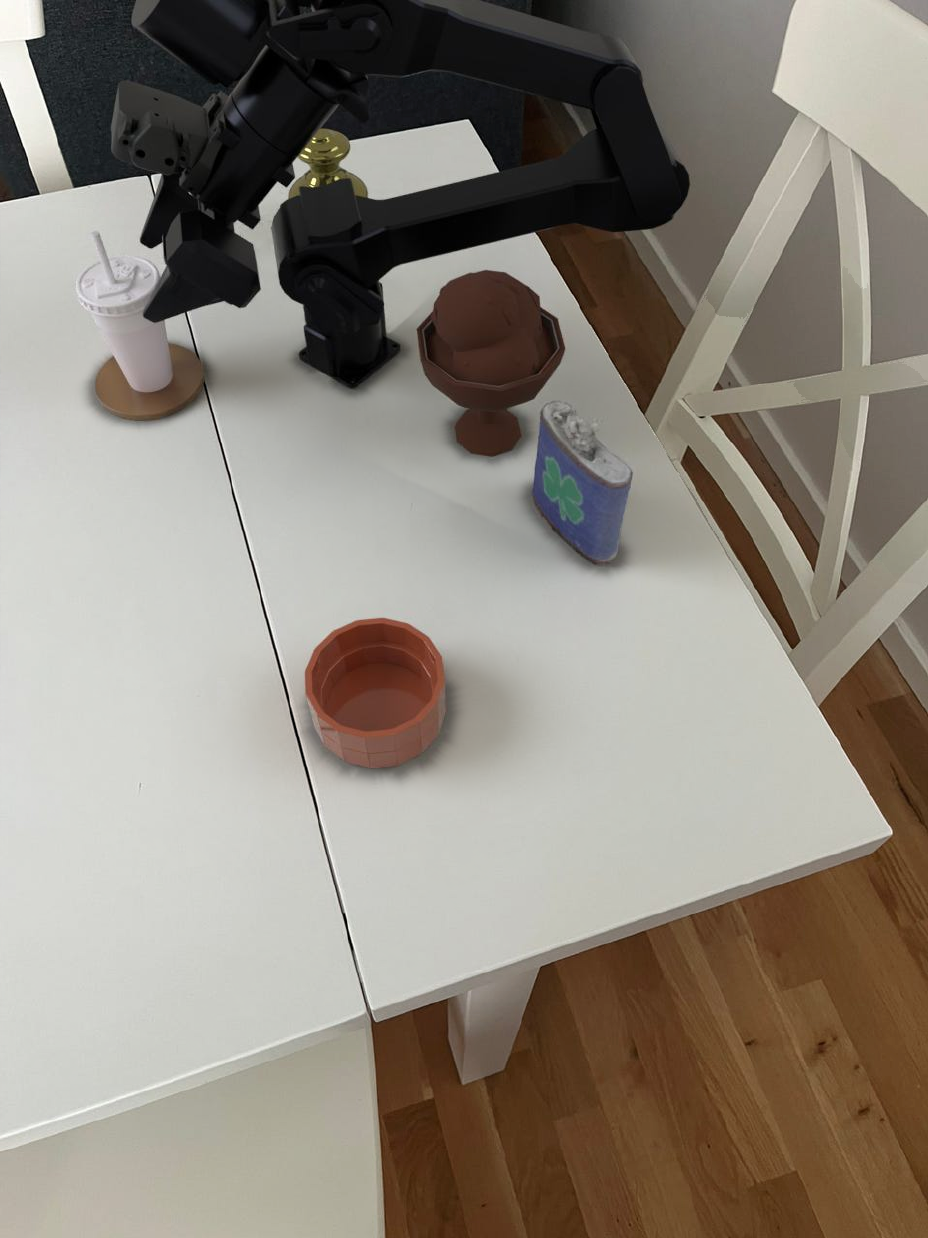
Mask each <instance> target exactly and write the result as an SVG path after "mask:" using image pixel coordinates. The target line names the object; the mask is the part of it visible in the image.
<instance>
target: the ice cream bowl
mask: <svg viewBox="0 0 928 1238" xmlns="http://www.w3.org/2000/svg"><path fill="white" fill-rule="evenodd" d="M432 306H433V307H432V311H431V312H430V313H429V314H428V315H427V316H426V317H425V319H424V320H423V321H422V322H421V323H420V324H419V325H418V327H417V328H416V335H417V336H416V337H417V344H418V351H419V359H420V363H421V367H422V369H423V370H422V371H423V373H424V376H425V377H426V379H427V380H428V382H429V383H430V384H431V385H432V387H434V388H435V389H437V390H438V391H439V392H440V393H442V395H444V396H446V397H447V398H448V399H450V400H451V401H452V402H454V404H456V405H457V406H459V407H462V408H464V409H466V410H465V411H464V412H463V413H462V415H461V416H460V417H459V418H458V419H457V421H456V422H455V425H454V433H455V439H456V443H457V444H458V445H460V446H461V447H462V448H463V449H465V450H466V451H467V452H469V453H470V454H473V455H478V456H479V455H480V456H486V457H496V456H498V455H502V454H504V453H508V452H510V451H512V450H513V449H514V448H515V446H516V445H517V444H518V443H519V441H520V440H521V438H523V437H522V430H521V426H520V421H519V418H518V417H517V416H516V415H515V414H514V413H512V412H511V411H509V410H508V409H511V408H513V407H517V406H519V405H523V404H525V403H528V402H530V401H533V400H535V399H536V397H537V396H538V395H539V394H540V392H541V391H542V389H543V388H544V387H545V385H546V384H547V382H548V381H549V380H550V379H551V377H552V376H553V375H554V373H555V372H556V371H557V369H558V368H559V367H560V365H561V363H562V360H563V358H564V354H565V352H566V345H565V341H564V337H563V334H562V329H561V325H560V323H559V317H557V316H555V315H554V314H552V313H550V312H549V311H548V310H546V309H545V308H543V307H542V306H541V297H540V295H539V294H538V293H537V292H536V291H534V290H533V289H532V288H531V287H529V286H528V285H527V284H525V283H523V282H522V281H520V280H519V279H517V278H515V277H514V276H512V275H511V274H509V273H507V272H505V271H498V270H490V269H483V270H480V271H476V272H471V271H470V272H468V273H465V274H463V275H460V276H458V277H455V278H453V279H450V280H449V281H448V282H447V283H446V284H445V285H444V286H442V287H441V288H440V290H439V293H438V296H437V298H436V299H435V301H434V302H433V305H432Z"/></svg>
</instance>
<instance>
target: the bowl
mask: <svg viewBox="0 0 928 1238" xmlns="http://www.w3.org/2000/svg"><path fill="white" fill-rule="evenodd" d="M445 676H446V675H445V669H444V661H443V657H442V654H441V653H440V652H439V650H438V648H437V647H436V645H435V644H434V643H433V641H432V639H431V637H429V636H428V635H427V634H425V633H424V632H423V631H421V630H419V629H418V628H416V627H415V626H413V625H412V624H410V623H408V622H405V621H400V620H396V619H393V618H392V619H391V618H387V617H376V618H366V619H357V620H356V619H355V620H354V621H352V622H350V623H347V624H345V625H343V626H341V627H338V628H335V629H334V630H333V631H331V632H330V633H329V634H328V635H327V636H326V637H325V638H324V639H323V640H322V641H321V642H320V643H319V644H318V645H316V647H314V649H313V651H312V654H311V655H310V658H309V660H308V663H307V665H306V667H305V670H304V687H305V689H304V690H305V698H306V702H307V704H308V709H309V712H310V716H311V719H312V723H313V727H314V729H315V730H316V733H317V734H318V736H319V739H320V741H321V743H322V744H323V746H325V748H326V749H327V750H328V751H330V752H331V753H332V754H334V755H335V756H336V757H338V758H340V759H341V760H342V761H343V762H346V763H349V764H352V765H356V766H360V767H365V768H368V769H380V768H387V767H397V766H400V765H402V764H404V763H406V762H408V761H410V760H412V759H413V758H415V757H417V756H419V755H422V754H423V753H424V752H425V751H426V749H428V748H429V746H430V745H431V744H432V743H433V741H435V739H436V738H438V736H439V734H440V732H441V729H442V725H443V722H444V719H445V716H446V712H447V700H446V677H445Z"/></svg>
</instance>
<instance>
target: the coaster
mask: <svg viewBox="0 0 928 1238" xmlns="http://www.w3.org/2000/svg"><path fill="white" fill-rule="evenodd" d="M168 346H169V352H170V359H171V365H172V371H173V378H172V380H171V382H170V383H169V384H168V385H167V386H166V387H164V388H163V389H161V390H158V391H155V392H139V391H137V390H135V389H133V388H132V387H131V386H130V384H129V383H128V381H127V379H126V377H125V375H124V374H123V372H122V370H121V368H120V366H119V364H118V363H117V361H116V359H115V357H114V355H112V356H111V357H110V358H109V359H107V360H106V362H105V363H104V364H103V365H102V366H101V367H100V368H99V370H98V372H97V374H96V376H95V380H94V392H95V395H96V397H97V399H98V402H99V403H100V404H101V406H102V407H103V409H105V410H106V411H108V412H109V413H110V414H112V415H114V416H117V417H119V418H123V419H126V420H131V421H132V420H133V421H150V420H156V419H161V418H164V417H168V416H171V415H173V414H176V413H177V412H179V411H182V410H183V409H184V408H186V407H188V406H189V405H190V404H191V403H192V402H194V400H195V399H196V398H197V397H198V395H199V394H200V393H201V391H202V388H203V386H204V384H205V370H204V368H203V364H202V362H201V360H200V358H199V357H198V356H197V355H196V354H195V353H194V352H193V351H192V350H190V349H188V348H186V347H185V346H182V345H179V344H177V343H176V344H175V343H171V342H168Z"/></svg>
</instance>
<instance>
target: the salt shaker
mask: <svg viewBox="0 0 928 1238" xmlns="http://www.w3.org/2000/svg"><path fill="white" fill-rule="evenodd" d="M350 152H351V142H350V140H349V138H348V137H347V136H346V135H345V134H343V133H341V132H340V131H337V130H333V129H329V128H320V129H319V131H318V132H317V133H316V134H315V136H314V137H313V138H312V139H311V141H310V142H309V143H308V144H307V146H306V147H305V148H304V149H303V151H302V152H301V153H300V154H299V155H298V157H297V159H298V160H300V161H301V162H302V163H305V164H307V165H308V166H309V169H308V170H307V171H306V172H304V174H303V175H301V176H300V177H298V178H297V179H296V180H295V181H294V182H293V183H292V185H291V186H290V188H289V191H288V194H287V199H290V198H292V197H295V196H297V195H300V192H299V187H300V186H305V187H319V186H323V185H326V184H329V183H331V182H333V181H336V180H338V179H343V178H350V179H351V180H352V183H353V187H354V191H355V195H358V196H362V197H366V198H369V191H368V187H367V185H366V183H365V182H364V181H363V180H362V179H361V178H360V177H359V176H358V175H356V174H354V173H352V172H349V171H348V170H346V169H345V168H343V167H342V166H340V163H341V162H342V161H343V160H344V159H346V158H347V157H348V155H349V154H350Z"/></svg>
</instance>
